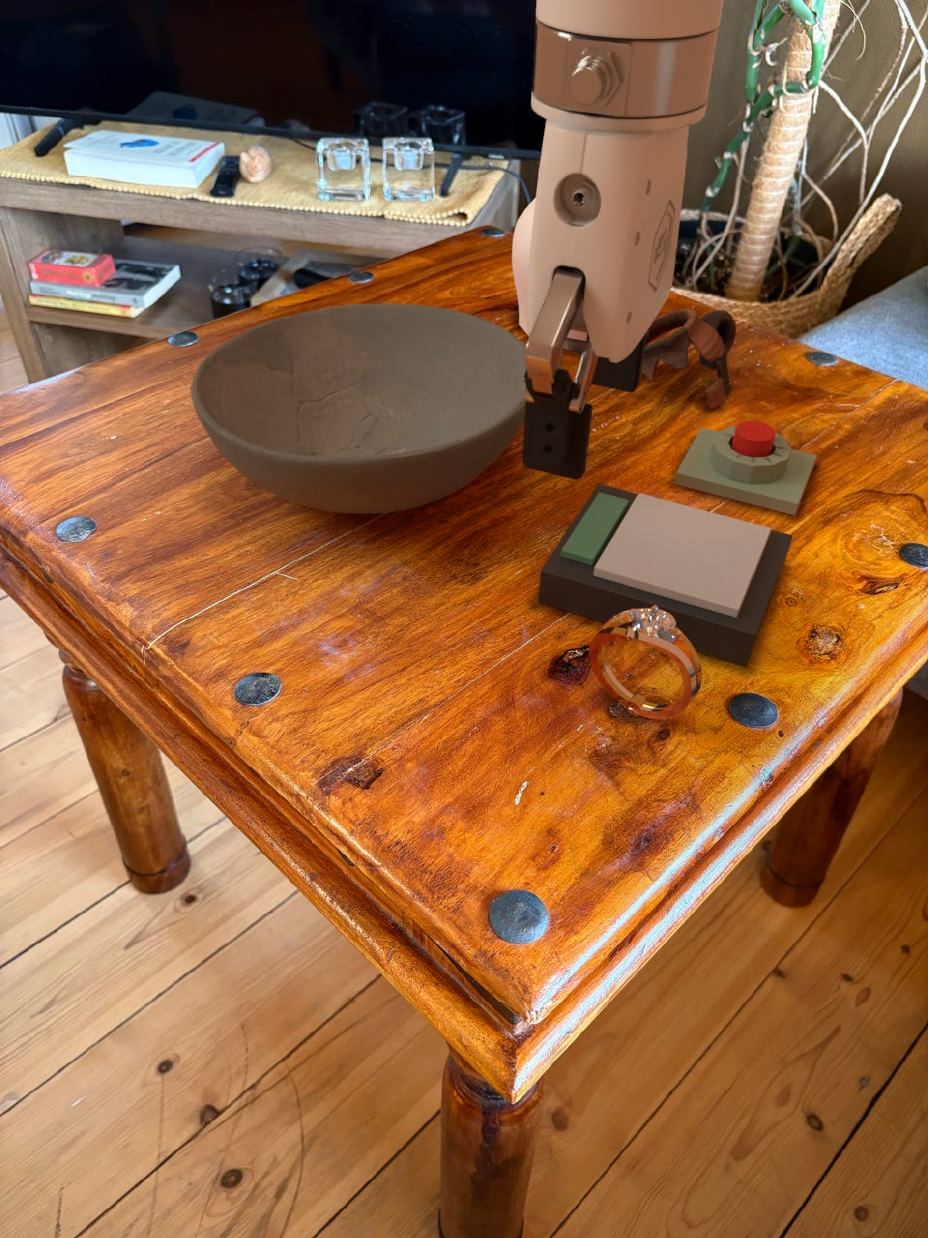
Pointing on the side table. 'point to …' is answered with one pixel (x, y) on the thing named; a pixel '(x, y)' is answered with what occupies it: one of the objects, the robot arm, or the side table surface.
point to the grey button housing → (746, 471)
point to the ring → (654, 636)
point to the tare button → (753, 439)
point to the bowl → (364, 404)
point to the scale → (668, 569)
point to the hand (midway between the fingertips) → (583, 425)
